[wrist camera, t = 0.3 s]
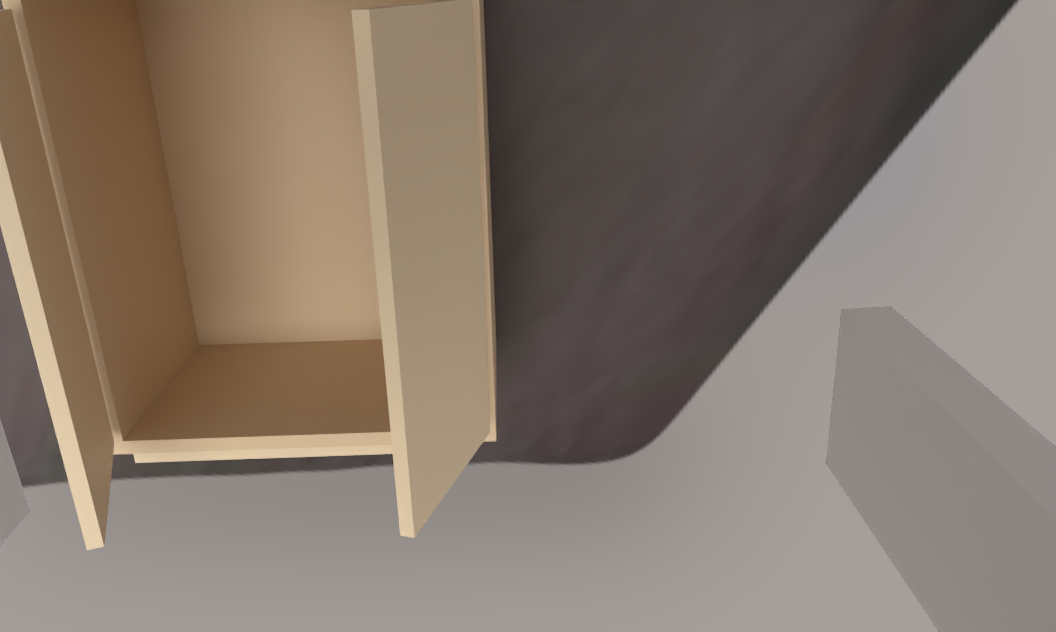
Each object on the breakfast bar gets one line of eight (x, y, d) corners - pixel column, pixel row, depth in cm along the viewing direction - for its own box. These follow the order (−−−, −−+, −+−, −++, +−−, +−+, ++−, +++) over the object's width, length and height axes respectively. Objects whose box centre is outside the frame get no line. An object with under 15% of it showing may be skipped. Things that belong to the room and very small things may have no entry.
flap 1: (114, 442, 33) (104, 546, 27) (100, 445, 33) (87, 550, 27) (11, 8, 27) (-32, 18, 21) (-7, 9, 27) (-55, 19, 21)
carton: (119, -41, 36) (-9, -44, 27) (481, -48, 37) (476, -54, 28) (195, 364, 44) (114, 470, 34) (496, 354, 44) (497, 456, 35)
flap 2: (457, -1, 27) (351, 9, 21) (471, -2, 27) (369, 9, 21) (478, 430, 33) (400, 535, 27) (490, 431, 33) (414, 537, 27)
